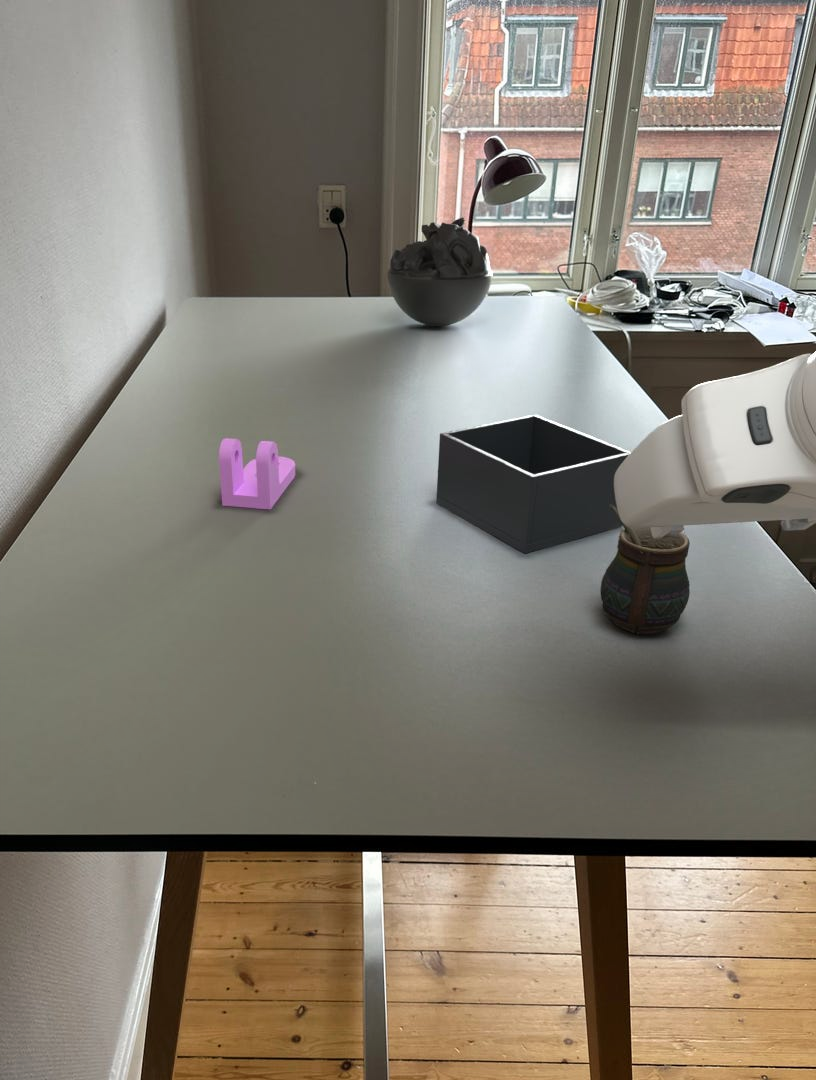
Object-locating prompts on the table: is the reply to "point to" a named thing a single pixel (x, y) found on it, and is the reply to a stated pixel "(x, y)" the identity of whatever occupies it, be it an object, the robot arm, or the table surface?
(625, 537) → the mate gourd
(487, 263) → the grey filled bowl
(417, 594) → the table surface
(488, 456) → the waste bin
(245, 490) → the bracket
